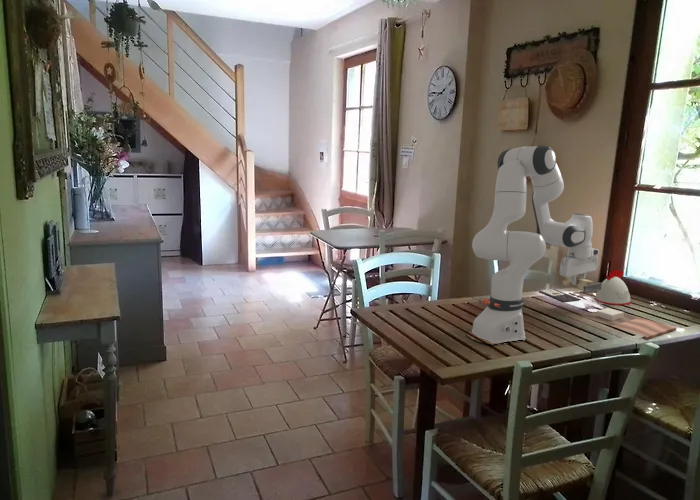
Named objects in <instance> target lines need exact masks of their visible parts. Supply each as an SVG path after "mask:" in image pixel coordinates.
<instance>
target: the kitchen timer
mask: <svg viewBox="0 0 700 500" xmlns="http://www.w3.org/2000/svg"><path fill="white" fill-rule="evenodd" d="M623 275H624V271H621V269H612V270H611V272H608V275H606V274H605V277H606V279H604V280H603V281H602V282H601V283H602V285H601V290H598V291H596V292H595V297H594V298H595V301H596V302H598V303H601V304H606V305H612V306H618V305H619V306H624V305H627V306H630V305H631V295H630V291H629V289H628V286H627V285H626V282H624V280H622V279H621V278H622V277H623Z"/></svg>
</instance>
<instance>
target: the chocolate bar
mask: <svg viewBox="0 0 700 500" xmlns="http://www.w3.org/2000/svg"><path fill="white" fill-rule="evenodd" d="M538 293H539V294H543V295H545V296H547V297H549V298H551V299H553V300H554V299H555V300H557V301H559V302H561V303H571V302H578V301H579V300H580V301H582V300H581V298H578V297H576V296H573V295H571V294H568V293H566V292H563V291H561V290H558V289H555V288H554V289H553V288H552V289H546V290H545V289H543V290H538ZM580 301H579V302H580Z"/></svg>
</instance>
